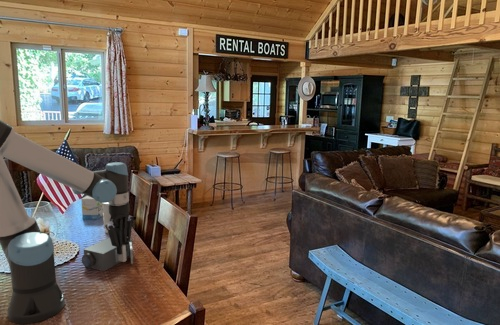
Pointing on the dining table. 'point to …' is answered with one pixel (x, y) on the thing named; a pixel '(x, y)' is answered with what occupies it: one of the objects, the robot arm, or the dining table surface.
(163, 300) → the dining table surface
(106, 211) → the candle
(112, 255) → the camera body
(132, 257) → the side door
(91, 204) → the ink box
